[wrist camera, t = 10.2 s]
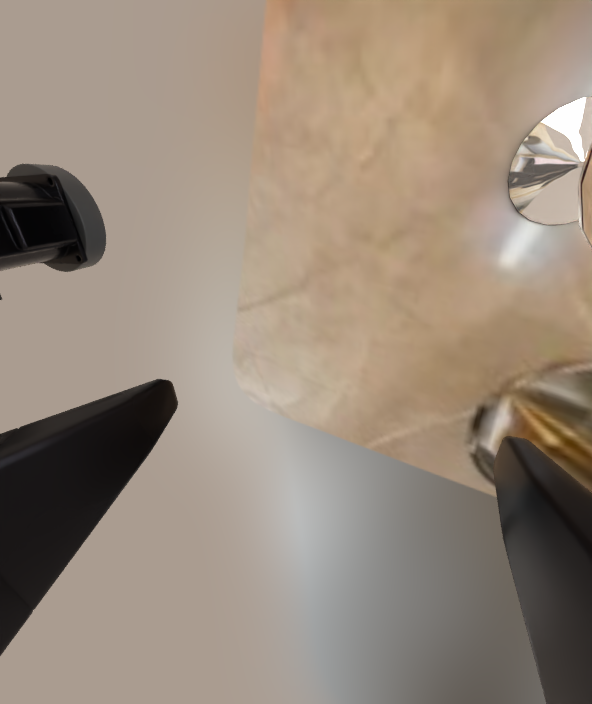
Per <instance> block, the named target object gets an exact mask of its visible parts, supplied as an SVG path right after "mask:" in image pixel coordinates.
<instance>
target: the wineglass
mask: <svg viewBox="0 0 592 704" xmlns="http://www.w3.org/2000/svg"><path fill="white" fill-rule="evenodd" d="M508 183H509V192H510V198H511V200H512V202H513V203H514V205H515V207H516V209H517V211H519V212H520V213H521V214H523V215H524V216H525V217H526V218H528V219H529V220H531V221H535V222H539V223H542V224H546V225H550V224H567V223H570V222H574V221H577V220H579V227H580V229H581V231H582V233H583V235H584V237H585V239H586V241H587V243H588V245H589V247H590V249H591V251H592V97H586V98H581V99H579V100H577V101H575V102H572V103H570V104H568V105H565V106H563V107H561V108H559V109H557V110H556V111H555V112H553V113H552V114H551V115H549V116H548V117H547V118H545V119H544V120H543V121H541V122H540V123H539V124H538V125H537V126H536V127H535V128H534V129H533V131H532V132H531V133H530V134H529V135H528V136H527V137H526V139H525V140H524V141H523V142H522V144H521V146H520V148H519V150H518V152H517V154H516V156H515V157H514V159H513V161H512V165H511V170H510V174H509V179H508Z"/></svg>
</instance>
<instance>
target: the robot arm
mask: <svg viewBox="0 0 592 704" xmlns="http://www.w3.org/2000/svg"><path fill="white" fill-rule="evenodd" d="M87 262H88V258H87V255H86V252H85V249H84V247H83V244H82V241H81V238H80V235H79V233H78V230H77V227H76V224H75V221H74V219H73V216H72V213H71V210H70V207H69V205H68V202H67V199H66V196H65V193H64V191H63V188H62V185H61V182H60V180H59V178H58V177H57V176H56V175H55V174H39V175H26V176H14V177H2V178H0V271H2V270H7V269H11V268H16V267H21V266H26V265H30V264H35V263H53V264H80V265H81V264H85V263H87ZM1 299H2V297H1V295H0V300H1ZM177 405H178V401H177V397H176V394H175V390H174V387H173V384H172V382H171V381H169V380H162V379H156V380H153V381H151V382H148V383H145V384H142V385H139V386H136V387H133V388H131V389H128V390H125V391H122V392H119V393H116V394H113V395H111V396H108V397H105V398H102V399H99V400H96V401H93V402H90V403H88V404H85V405H82V406H79V407H76V408H73V409H70V410H68V411H65V412H62V413H59V414H56V415H53V416H51V417H48V418H45V419H42V420H39V421H36V422H33V423H30V424H27V425H25V426H22V427H20V428H19V429H17V428H16V429H13V430H10V431H7V432H5V433H2V434H0V656H1V654H2V653H3V652H4V650H5V649H6V647H7V646H8V645H9V643H10V642H11V641H12V639H13V638H14V637H15V635H16V634H17V633H18V631H19V630H20V628H21V627H22V626H23V625H24V623H25V622H26V620H27V619H28V618H29V616H30V615H31V614H32V612H33V610H34V609H35V608H36V606H37V605H38V604H39V602H40V601H41V600H42V598H43V597H44V596H45V594H46V593H47V592H48V590H49V589H50V587H51V586H52V584H53V583H54V582H55V581H56V579H57V578H58V577H59V575H60V574H61V573H62V571H63V570H64V568H65V567H66V566H67V564H68V563H69V562H70V560H71V559H72V558H73V556H74V555H75V554H76V552H77V551H78V550H79V548H80V547H81V545H82V544H83V543H84V541H85V540H86V539H87V537H88V536H89V535H90V533H91V532H92V531H93V529H94V528H95V526H96V525H97V524H98V522H99V521H100V520H101V518H102V517H103V516H104V514H105V513H106V512H107V510H108V509H109V508H110V506H111V505H112V504H113V502H114V501H115V500H116V498H117V497H118V495H119V494H120V493H121V491H122V490H123V489H124V487H125V486H126V485H127V483H128V482H129V480H130V479H131V478H132V477H133V475H134V474H135V472H136V471H137V470H138V468H139V467H140V466H141V464H142V463H143V462H144V460H145V459H146V458H147V456H148V455H149V453H150V452H151V450H152V449H153V447H154V446H155V444H156V442H157V441H158V439H159V438H160V436H161V434H162V433H163V431H164V429H165V428H166V426H167V424H168V423H169V421H170V419H171V418H172V416H173V414H174V413H175V411H176V409H177ZM493 471H494V479H495V486H496V493H497V500H498V507H499V514H500V521H501V527H502V534H503V539H504V544H505V548H506V552H507V556H508V559H509V564H510V567H511V570H512V575H513V579H514V582H515V586H516V590H517V594H518V597H519V601H520V605H521V609H522V613H523V617H524V620H525V624H526V628H527V632H528V635H529V640H530V643H531V647H532V651H533V655H534V659H535V662H536V666H537V670H538V674H539V677H540V681H541V685H542V689H543V693H544V696H545V700H546V704H592V493H591V492H590V491H589V490H587V489H586V488H585V487H584V486H583V485H581V484H580V483H579V482H578V481H577V480H576V479H574V478H573V477H572V476H571V475H570V474H568V473H567V472H566V471H565V470H564V469H562V468H561V467H560V466H559V465H558V464H556V463H555V462H554V461H553V460H552V459H550V458H549V457H548V456H547V455H546V454H544V453H543V452H542V451H541V450H540V449H538V448H537V447H536V446H535V445H534V444H532V443H531V442H530V441H529V440H527V439H524V438H518V437H512V436H506V437H504V438H503V440H502V442H501V445H500V447H499V450H498V452H497V455H496V458H495V460H494V466H493Z"/></svg>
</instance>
